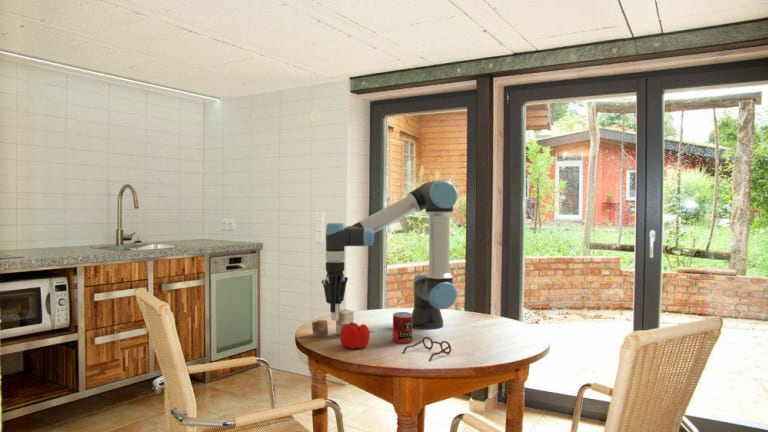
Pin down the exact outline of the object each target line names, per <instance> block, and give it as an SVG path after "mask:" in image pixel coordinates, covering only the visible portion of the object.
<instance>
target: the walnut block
mask: <svg viewBox="0 0 768 432" xmlns="http://www.w3.org/2000/svg"><path fill="white" fill-rule="evenodd" d="M311 326H312V336H313V338H315V337H316V338H325V337H327V335H329V330H328V329H329V327H328V320H323V319H320V320H315V321H313V322H311Z"/></svg>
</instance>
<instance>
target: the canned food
mask: <svg viewBox="0 0 768 432" xmlns="http://www.w3.org/2000/svg"><path fill="white" fill-rule="evenodd" d="M392 341H393V342H394V343H395V344H399V345H408V344H411V343H412V341H413V327H412V312H406V311H397V312H394V313H392Z"/></svg>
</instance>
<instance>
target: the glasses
mask: <svg viewBox="0 0 768 432" xmlns="http://www.w3.org/2000/svg"><path fill="white" fill-rule="evenodd" d="M425 340H429V341H430V345H431V346H430V347H429V346H427V345H426V342H425ZM421 343H422V344H423V346H424V348H426V349H429V350H432V349H433V347H434V344H436V345H439V347H440V350H439V351H437V352H434V353H432V354H431V355H430V357H429V359H428V362H431V361H432V359H433V357H434V356H436V355H440V354H442V353H445V354H450V353H451V352H452V347H451V344H450V343H449V341H447V340H443V341H441V342H438V341H436V340H434V341H433V340H432V338H430V337H429V336H424V337H423V338H422V339H421V340H419V341H417V342H416V343H414V344H412V345H407V346H405V347H404V349H403V351H402V353H401V354H402V355H404V354H405V352H406V351H407V349H408V348H414V347H416V346H418V345H419V344H421ZM443 344H446V345H447V346H446V347H444V348H443ZM448 349H449V351H446V350H448Z"/></svg>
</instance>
